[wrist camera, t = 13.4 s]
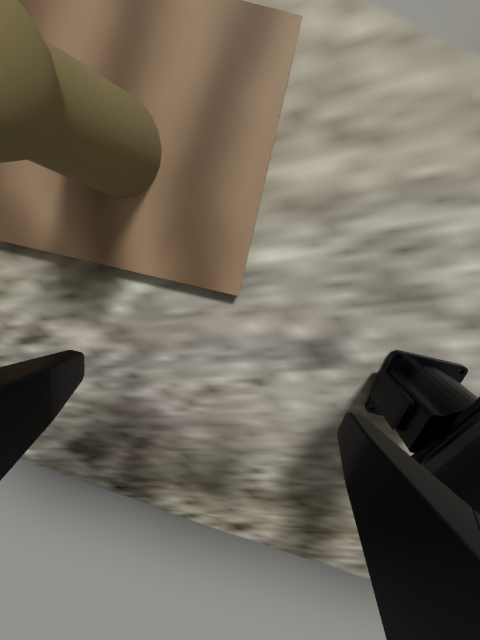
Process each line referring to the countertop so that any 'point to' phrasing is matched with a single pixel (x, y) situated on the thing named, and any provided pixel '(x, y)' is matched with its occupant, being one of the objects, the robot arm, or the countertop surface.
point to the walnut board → (166, 136)
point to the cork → (70, 114)
